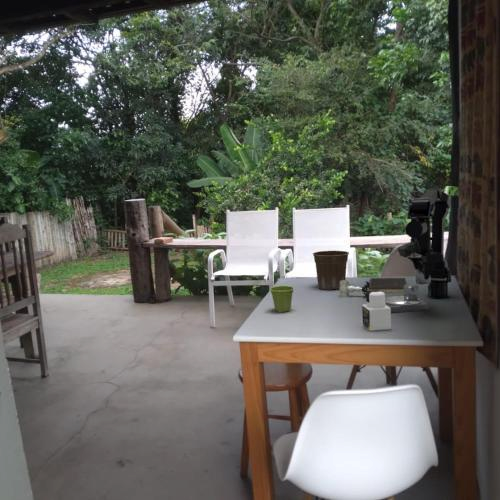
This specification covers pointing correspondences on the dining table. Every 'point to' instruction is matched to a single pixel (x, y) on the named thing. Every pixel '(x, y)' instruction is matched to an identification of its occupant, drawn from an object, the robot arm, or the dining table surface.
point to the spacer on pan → (411, 292)
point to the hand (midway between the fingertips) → (422, 278)
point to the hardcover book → (387, 284)
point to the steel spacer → (421, 277)
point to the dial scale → (405, 304)
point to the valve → (351, 288)
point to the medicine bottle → (376, 311)
